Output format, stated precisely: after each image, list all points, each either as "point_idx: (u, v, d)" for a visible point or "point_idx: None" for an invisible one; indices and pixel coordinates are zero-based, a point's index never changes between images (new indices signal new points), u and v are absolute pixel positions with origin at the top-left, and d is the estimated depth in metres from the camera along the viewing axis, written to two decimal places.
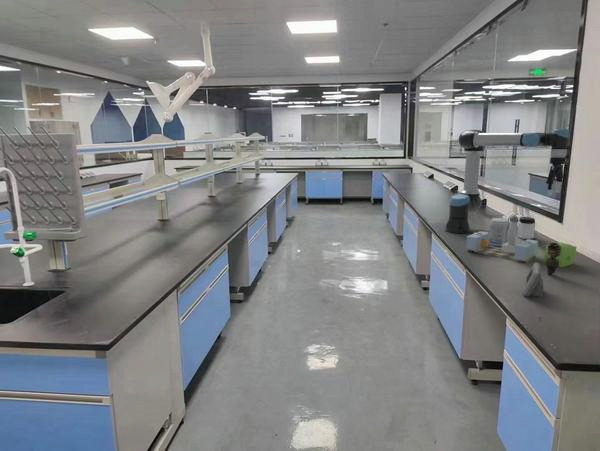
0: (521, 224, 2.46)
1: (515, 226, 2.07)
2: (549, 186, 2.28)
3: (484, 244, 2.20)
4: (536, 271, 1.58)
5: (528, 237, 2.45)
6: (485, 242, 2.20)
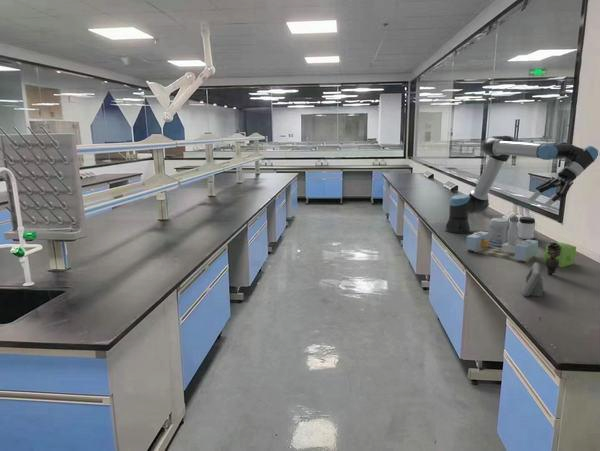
0: (521, 224, 2.46)
1: (515, 226, 2.07)
2: (556, 197, 1.98)
3: (484, 244, 2.20)
4: (536, 271, 1.59)
5: (528, 237, 2.45)
6: (485, 242, 2.20)
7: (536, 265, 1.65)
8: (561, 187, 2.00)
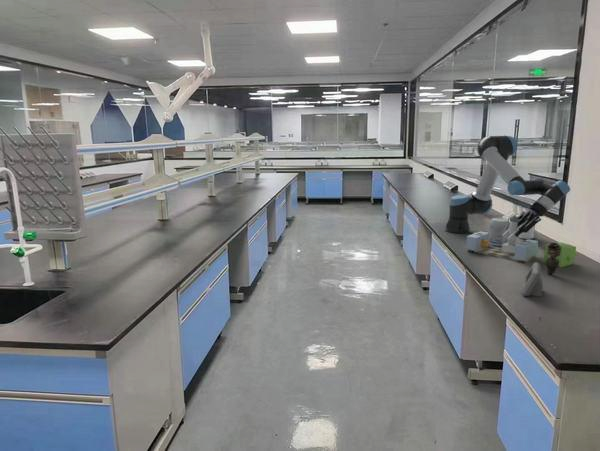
0: None
1: (515, 226, 2.07)
2: (519, 233, 2.05)
3: (484, 244, 2.20)
4: (535, 271, 1.59)
5: (528, 237, 2.45)
6: (485, 242, 2.20)
7: (536, 265, 1.65)
8: (527, 222, 2.05)
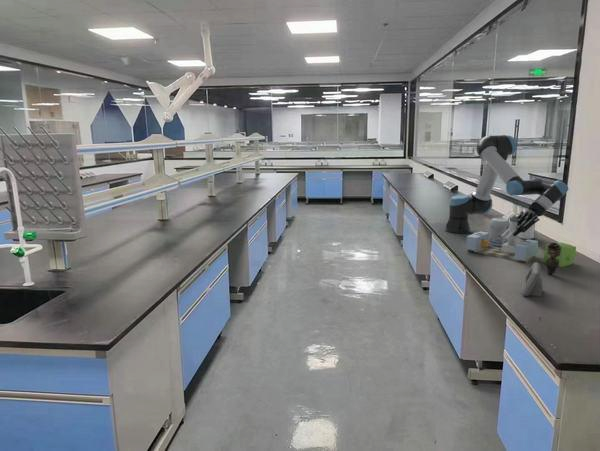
0: None
1: (515, 226, 2.07)
2: (517, 233, 2.06)
3: (484, 244, 2.20)
4: (535, 271, 1.59)
5: (528, 237, 2.45)
6: (485, 242, 2.20)
7: (536, 265, 1.65)
8: (526, 222, 2.06)
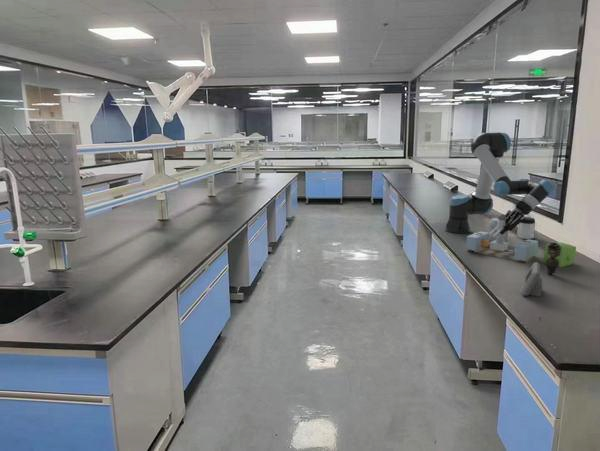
0: (521, 224, 2.46)
1: (503, 224, 2.12)
2: (504, 231, 2.10)
3: (484, 244, 2.20)
4: (535, 271, 1.59)
5: (528, 237, 2.45)
6: (485, 242, 2.20)
7: (535, 265, 1.66)
8: (512, 221, 2.10)
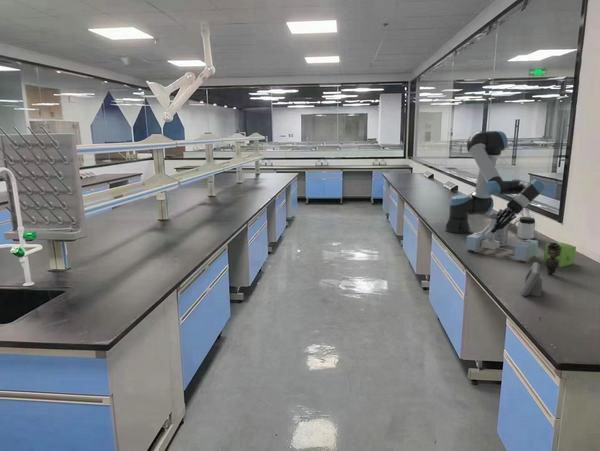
0: (521, 224, 2.46)
1: (494, 223, 2.15)
2: (495, 229, 2.14)
3: None
4: (535, 271, 1.59)
5: (528, 237, 2.45)
6: (481, 241, 2.21)
7: (535, 265, 1.66)
8: (503, 219, 2.14)
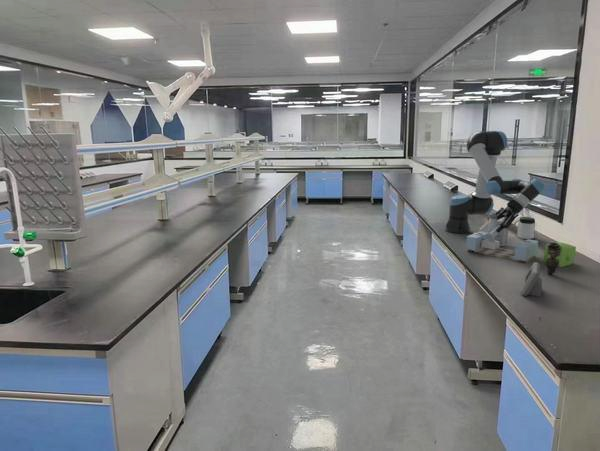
0: (521, 224, 2.46)
1: (494, 223, 2.15)
2: (500, 229, 2.10)
3: None
4: (534, 270, 1.59)
5: (528, 237, 2.45)
6: (481, 241, 2.21)
7: (535, 265, 1.66)
8: (506, 218, 2.12)
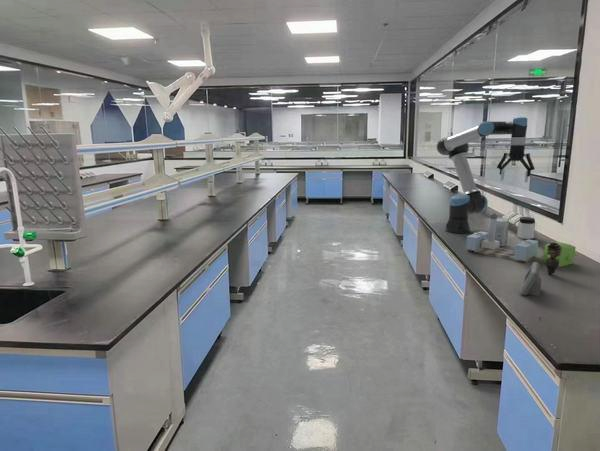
0: (521, 224, 2.46)
1: (494, 223, 2.15)
2: (529, 173, 2.34)
3: None
4: (533, 270, 1.59)
5: (528, 237, 2.45)
6: (481, 241, 2.21)
7: (535, 264, 1.66)
8: (524, 162, 2.35)
